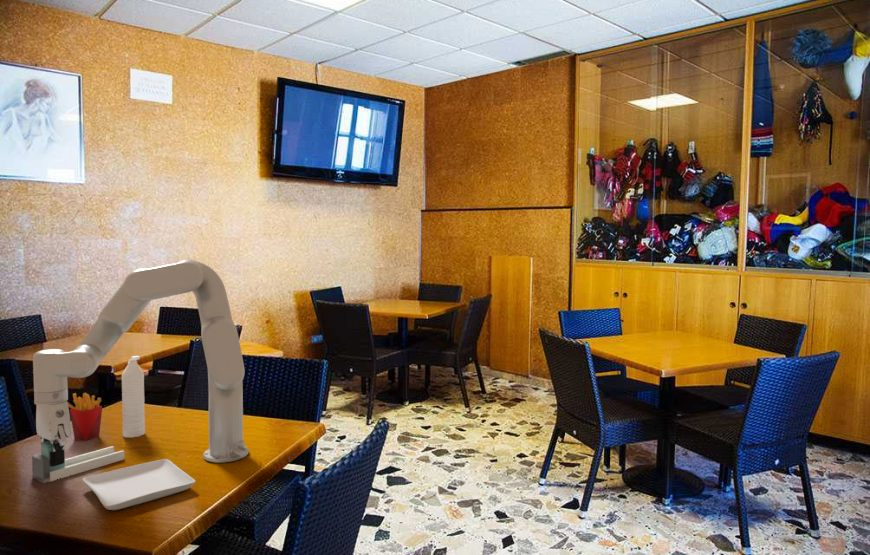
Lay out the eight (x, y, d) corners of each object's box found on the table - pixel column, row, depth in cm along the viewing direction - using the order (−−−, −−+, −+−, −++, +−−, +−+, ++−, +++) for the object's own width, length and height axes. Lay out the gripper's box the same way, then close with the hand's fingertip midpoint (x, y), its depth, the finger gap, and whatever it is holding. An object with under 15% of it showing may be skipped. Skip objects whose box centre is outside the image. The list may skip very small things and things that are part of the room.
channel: (124, 459, 170) (123, 439, 170) (43, 483, 153) (43, 461, 152) (112, 454, 174) (112, 434, 173) (32, 477, 156) (32, 455, 156)
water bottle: (142, 437, 189) (141, 360, 187) (120, 438, 187) (118, 361, 185) (148, 428, 197) (147, 355, 195) (127, 430, 195) (125, 356, 194)
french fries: (88, 433, 192) (87, 388, 191) (107, 436, 189) (106, 390, 188) (63, 442, 183) (62, 394, 182) (82, 445, 181) (81, 397, 180)
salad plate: (197, 492, 150) (197, 479, 149) (106, 520, 135) (105, 505, 134) (166, 468, 165) (166, 456, 164) (81, 490, 150) (80, 477, 150)
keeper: (65, 470, 158) (64, 441, 158) (48, 475, 155) (47, 445, 154) (58, 467, 160) (57, 438, 160) (41, 471, 157) (40, 442, 156)
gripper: (81, 398, 155) (83, 465, 156) (52, 388, 164) (54, 452, 165) (49, 404, 148) (52, 474, 150) (21, 393, 158) (24, 460, 159)
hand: (53, 462), depth 157 cm, fingers closed on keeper, 4 cm apart
